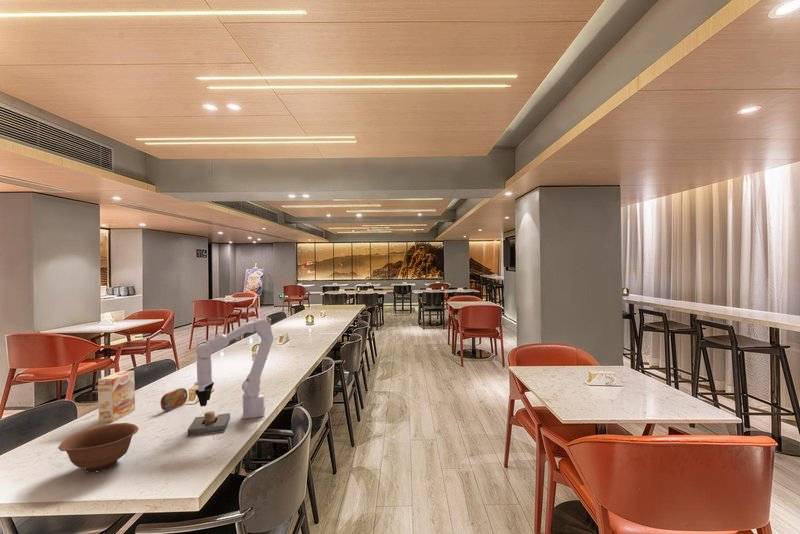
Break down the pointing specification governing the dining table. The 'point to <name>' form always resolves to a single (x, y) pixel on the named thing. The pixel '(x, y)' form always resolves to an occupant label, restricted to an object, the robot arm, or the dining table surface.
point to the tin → (174, 399)
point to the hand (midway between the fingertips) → (205, 403)
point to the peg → (209, 417)
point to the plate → (209, 425)
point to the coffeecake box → (116, 396)
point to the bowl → (99, 446)
